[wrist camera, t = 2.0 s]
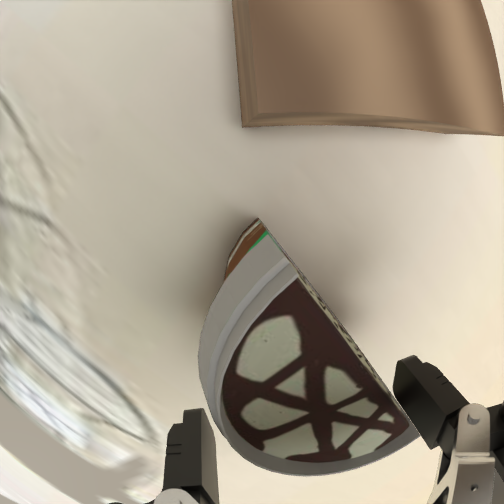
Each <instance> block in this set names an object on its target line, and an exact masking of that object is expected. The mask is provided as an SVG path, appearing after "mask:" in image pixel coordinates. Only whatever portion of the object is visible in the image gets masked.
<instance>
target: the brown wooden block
mask: <svg viewBox="0 0 504 504" xmlns="http://www.w3.org/2000/svg"><path fill="white" fill-rule="evenodd" d="M232 7H233V19H234V31H235V44H236V56H237V68H238V80H239V92H240V105H241V117H242V128H245V127H261V126H285V125H349V126H372V127H387V128H400V129H411V130H420V131H429V132H437V133H444V134H474V135H493V136H504V102H503V94H502V87H501V80H500V74H499V68H498V63H497V58H496V54H495V49H494V45H493V41H492V37H491V33H490V29H489V25H488V22H487V19H486V15H485V12H484V9H483V6H482V3H481V0H232Z"/></svg>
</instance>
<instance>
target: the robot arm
mask: <svg viewBox="0 0 504 504" xmlns="http://www.w3.org/2000/svg"><path fill="white" fill-rule="evenodd" d="M393 392H394V395H395V398H396V399H397V401H398V402H399V404H400V405H401V407H402V408H403V410H404V411H405V412H406V414H407V415H408V417H409V418H410V420H411V421H412V423H413V424H414V426H415V427H416V429H417V430H418V432H419V433H420V435H421V436H422V438H423V439H424V441H425V442H426V444H427V445H428V447H429V448H430V450H432V449H433V448H435V447H437V446H440V447H441V449H442V450H441V452H440V457H439V463H438V468H437V473H436V478H435V483H434V487H433V490H432V493H431V495H430V497H429V499H428V502H427V504H491V501H492V493H493V484H494V472H495V468H496V470H497V472H498V473H499V475H500V476H501V478H502V480H503V481H504V401H503V403H502V404H499V405H495V406H492V407H488V408H485V407H484V406H483V405H480V404H476V403H473V404H470V403H469V402H468V401H467V400H466V399H465V398H464V397H463V396H462V394H461V393H460V392H459V391H458V390H457V389H456V388H455V387H454V386H453V384H452V383H451V382H449V380H448V379H447V378H446V377H445V376H443V373H442V372H441V371H440V370H439V369H438V368H437V367H435V366H434V365H432V364H430V363H428V362H425V363H422V362H421V361H420V360H419V359H418V357H417V356H415V355H412V356H409V357H407V358H404V359H402V360H399V361H398V362H397V364H396V371H395V377H394V382H393ZM109 504H122V503H117V502H114V503H109ZM145 504H219V492H218V477H217V461H216V443H215V437H214V433H213V430H212V427H211V425H210V423H209V420H208V418H207V415H206V413H205V410H204V409H203V408H199V409H191V410H184V413H183V423H179V424H173V426H172V428H171V429H170V431H169V433H168V436H167V447H166V457H165V469H164V482H163V489H162V491H161V493H160V494H159V495H158V496H157V497H156V499H154V500H153V501H151V502H149V503H145Z"/></svg>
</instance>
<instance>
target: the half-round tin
mask: <svg viewBox="0 0 504 504" xmlns="http://www.w3.org/2000/svg"><path fill="white" fill-rule="evenodd" d="M198 365H199V377H200V381H201V384H202V388H203V391H204V394H205V397H206V400H207V403H208V406H209V409H210V412H211V415H212V418H213V420H214V422H215V424H216V425H217V427H218V429H219V430H220V432H221V433H222V435H223V436H224V437H225V438H226V439H227V440H228V442H229V444H230V445H231V447H232V448H233V449H234V450H235V451H237V452H238V453H239V454H240V455H241V456H242V457H243V458H244V459H246V460H248V461H249V462H251V463H253V464H254V465H256V466H258V467H261V468H263V469H266V470H269V471H271V472H276V473H280V474H285V475H293V476H322V475H330V474H336V473H341V472H345V471H349V470H353V469H357V468H360V467H363V466H366V465H368V464H371V463H374V462H376V461H378V460H381V459H383V458H385V457H387V456H389V455H391V454H393V453H395V452H396V451H398V450H400V449H402V448H403V447H405V446H407V445H408V444H410V443H411V442H413V441H414V440H415V439H417V438H418V437H420V436H421V435H420V434H419V432H418V431H417V430H416V428H415V426H414V425H413V424H412V422H411V421H410V419H409V418H408V416H407V415H406V413H405V412H404V411H403V409H402V408H401V406H400V405H399V403H398V402H397V401H396V399H395V398H394V396H393V395H392V394H391V392H390V391H389V389H388V388H387V386H386V385H385V384H384V382H383V381H382V379H381V378H380V377H379V375H378V374H377V372H376V371H375V370H374V368H373V367H372V365H371V364H370V363H369V361H368V360H367V358H366V357H365V356H364V354H363V353H362V352H361V350H360V349H359V347H358V346H357V345H356V343H355V342H354V341H353V339H352V338H351V336H350V335H349V334H348V332H347V331H346V330H345V328H344V327H343V326H342V324H341V323H340V322H339V320H338V319H337V318H336V316H335V315H334V314H333V312H332V311H331V310H330V308H329V307H328V306H327V305H326V303H325V302H324V301H323V299H322V298H321V297H320V295H319V294H318V293H317V292H316V290H315V289H314V288H313V286H312V285H311V284H310V283H309V281H308V280H307V279H306V277H305V276H304V275H303V274H302V272H301V271H300V270H299V268H298V267H297V266H296V265H295V263H294V262H293V261H292V260H291V258H290V257H289V256H288V254H287V253H286V252H285V251H284V249H283V248H282V247H281V246H280V244H279V243H278V242H277V241H276V239H275V238H274V237H273V236H272V234H271V233H270V232H269V231H268V229H267V228H266V227H265V226H264V224H263V223H262V222H261V221H260V219H259V218H258V219H256V220H255V221H254V222H253V223H252V224H251V225H250V226H249V227H248V228H247V229H246V230H245V231H244V232H243V233H242V235H241V236H240V238H239V240H238V242H237V243H236V245H235V247H234V248H233V250H232V252H231V253H230V255H229V259H228V263H227V268H226V272H225V277H224V283H223V285H222V287H221V288H220V290H219V292H218V294H217V295H216V297H215V299H214V301H213V303H212V304H211V306H210V309H209V311H208V314H207V317H206V320H205V323H204V326H203V329H202V332H201V337H200V344H199V351H198Z"/></svg>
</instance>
